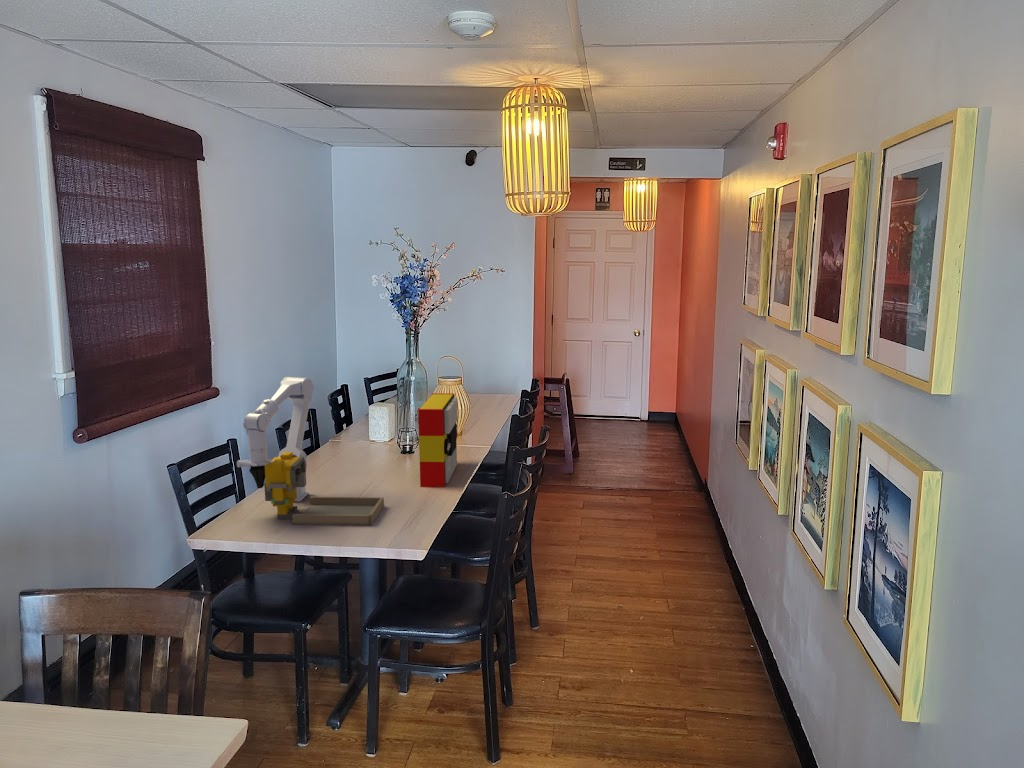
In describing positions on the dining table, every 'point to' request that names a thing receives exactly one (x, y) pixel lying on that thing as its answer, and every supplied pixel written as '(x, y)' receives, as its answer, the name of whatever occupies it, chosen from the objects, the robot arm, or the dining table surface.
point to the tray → (340, 511)
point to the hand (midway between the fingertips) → (260, 487)
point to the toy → (284, 482)
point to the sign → (437, 439)
